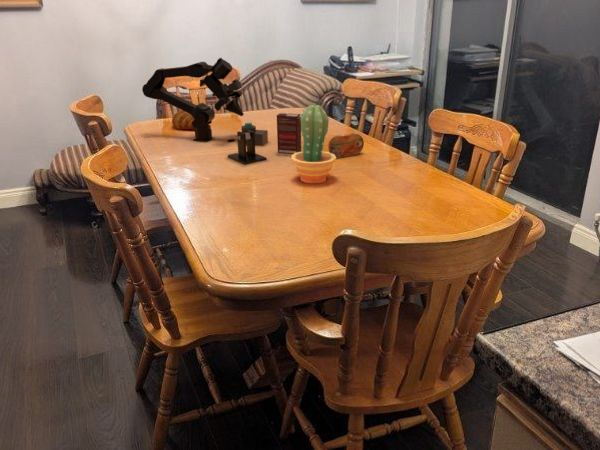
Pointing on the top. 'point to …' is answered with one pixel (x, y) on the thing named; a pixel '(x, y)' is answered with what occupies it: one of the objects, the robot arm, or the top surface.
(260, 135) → the control block
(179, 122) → the pastry
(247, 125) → the button
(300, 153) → the potted cactus
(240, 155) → the bracket
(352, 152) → the tin
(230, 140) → the lever
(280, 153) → the supplement box
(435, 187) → the top surface
